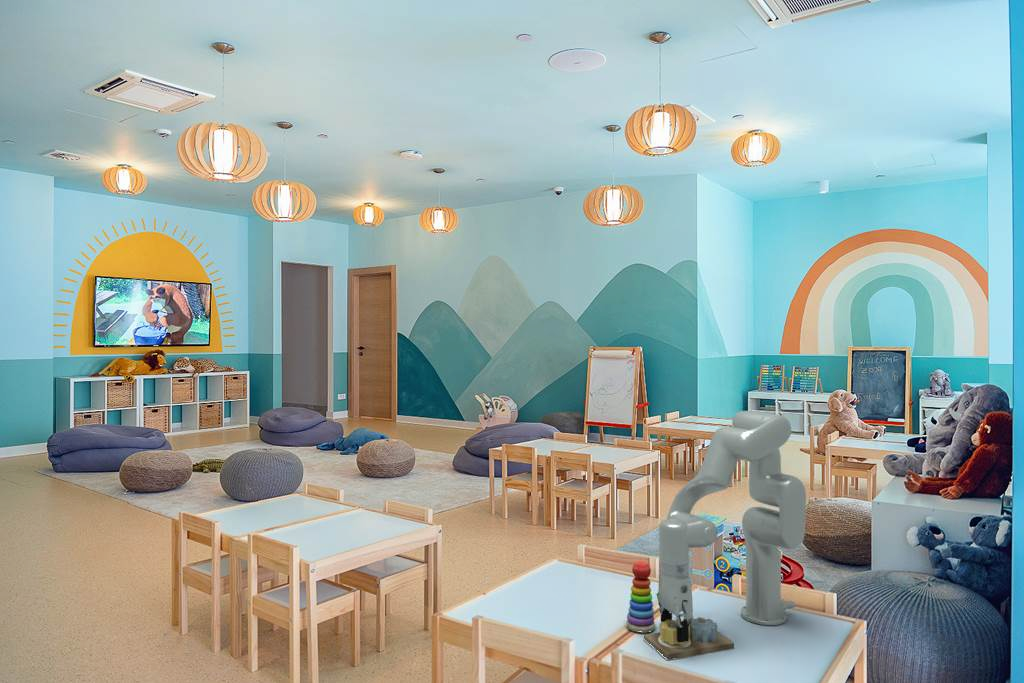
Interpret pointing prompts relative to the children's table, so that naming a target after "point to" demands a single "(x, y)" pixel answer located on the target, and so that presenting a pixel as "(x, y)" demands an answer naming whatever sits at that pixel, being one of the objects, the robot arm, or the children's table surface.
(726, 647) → the gear board
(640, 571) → the stacking toy
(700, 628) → the slate gear
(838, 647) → the children's table surface
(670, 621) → the ochre gear
